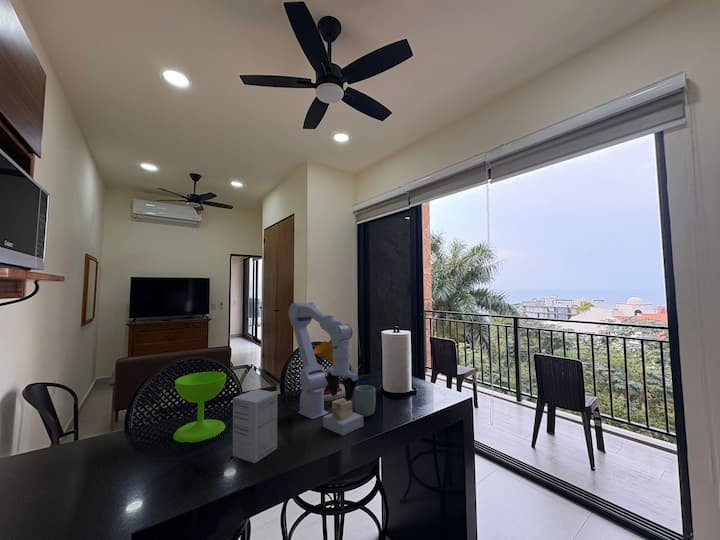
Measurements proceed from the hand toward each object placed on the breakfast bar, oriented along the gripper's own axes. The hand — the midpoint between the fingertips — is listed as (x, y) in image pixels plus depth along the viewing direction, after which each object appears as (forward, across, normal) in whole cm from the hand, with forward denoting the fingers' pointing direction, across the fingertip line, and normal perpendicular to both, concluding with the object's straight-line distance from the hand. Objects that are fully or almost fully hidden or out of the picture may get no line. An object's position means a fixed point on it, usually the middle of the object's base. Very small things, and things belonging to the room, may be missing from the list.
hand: (341, 397), depth 112 cm
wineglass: (+10, -33, -36) cm, 49 cm away
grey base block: (+10, 0, 0) cm, 10 cm away
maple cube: (+6, 0, 0) cm, 6 cm away
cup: (+10, -1, +13) cm, 17 cm away
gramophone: (+10, -32, +20) cm, 39 cm away
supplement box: (+10, -6, -30) cm, 32 cm away
